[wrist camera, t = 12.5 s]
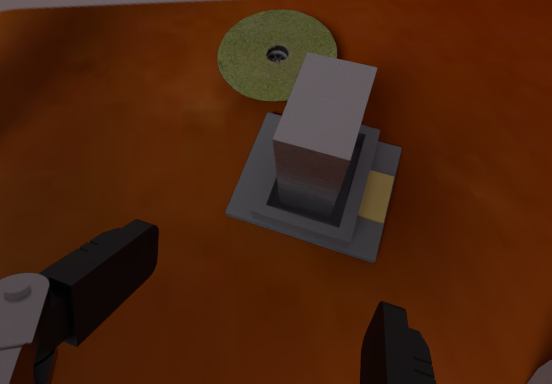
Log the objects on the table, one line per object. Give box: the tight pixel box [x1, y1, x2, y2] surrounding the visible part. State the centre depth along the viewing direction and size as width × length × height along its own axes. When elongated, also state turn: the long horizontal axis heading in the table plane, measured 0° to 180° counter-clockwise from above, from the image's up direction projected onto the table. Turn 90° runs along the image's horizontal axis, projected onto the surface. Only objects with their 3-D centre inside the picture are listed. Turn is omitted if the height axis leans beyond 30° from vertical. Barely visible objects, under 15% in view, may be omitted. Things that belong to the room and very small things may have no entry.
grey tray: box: [225, 112, 402, 263], centre depth 26 cm, size 12×10×3 cm
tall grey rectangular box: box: [273, 52, 377, 220], centre depth 22 cm, size 4×6×10 cm, turn 161°
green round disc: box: [217, 10, 337, 101], centre depth 31 cm, size 11×11×2 cm
